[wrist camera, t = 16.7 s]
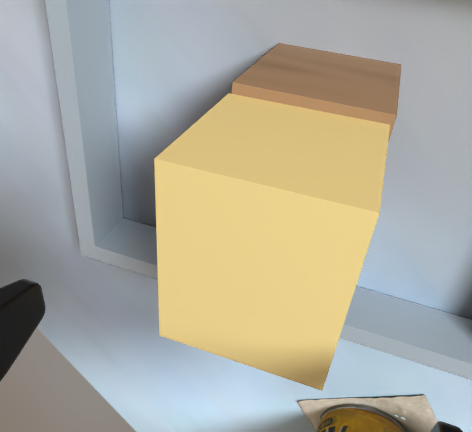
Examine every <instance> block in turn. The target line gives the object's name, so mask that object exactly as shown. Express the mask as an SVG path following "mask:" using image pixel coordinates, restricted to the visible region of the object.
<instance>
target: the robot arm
mask: <svg viewBox="0 0 472 432" xmlns="http://www.w3.org/2000/svg"><path fill="white" fill-rule="evenodd" d="M45 308H46V307H45V302H44V298H43V293H42V289H41V286H40V285H39V284H38V283H36V282H33V281H30V280H26V279H22V280H19V281H16V282H14V283H11V284H9V285H6V286H4V287H2V288H0V381H1V380H2V378H3V377H4V376H5V374H6V373H7V372H8V370H9V369H10V367H11V365H12V364H13V363H14V361H15V360H16V358H17V357H18V355H19V354H20V352H21V350H22V349H23V347H24V346H25V344H26V343H27V341H28V340H29V338H30V337H31V335H32V334H33V332H34V330H35V329H36V327H37V326H38V324H39V323H40V321H41V320H42V318H43V316H44V314H45ZM430 432H463V431H462V430H461V429H460V428H458V427H456V426H453V425H450V424H447V423H445V422H441V421H439V422H437V423H436V424H435V425H434V427H433V428H432V430H431V431H430Z"/></svg>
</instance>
